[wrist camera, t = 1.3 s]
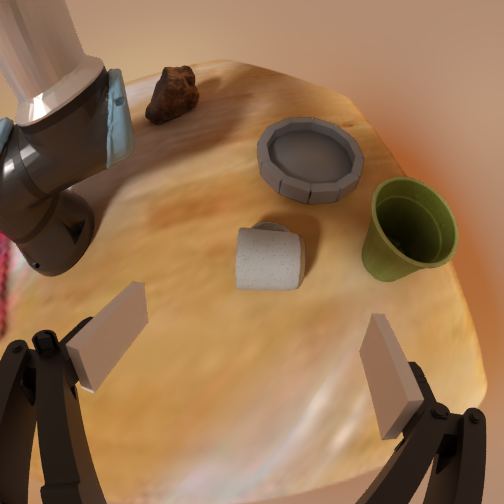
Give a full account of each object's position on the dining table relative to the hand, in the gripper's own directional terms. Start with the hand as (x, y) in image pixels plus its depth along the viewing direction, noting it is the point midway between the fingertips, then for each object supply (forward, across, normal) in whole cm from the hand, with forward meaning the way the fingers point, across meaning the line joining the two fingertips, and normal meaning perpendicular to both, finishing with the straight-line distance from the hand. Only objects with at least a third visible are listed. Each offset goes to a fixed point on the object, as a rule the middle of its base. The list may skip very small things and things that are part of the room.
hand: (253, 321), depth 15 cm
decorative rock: (+43, -23, +17) cm, 52 cm away
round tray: (+35, +4, +8) cm, 36 cm away
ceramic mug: (+22, 0, -5) cm, 22 cm away
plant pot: (+24, +16, -3) cm, 29 cm away
